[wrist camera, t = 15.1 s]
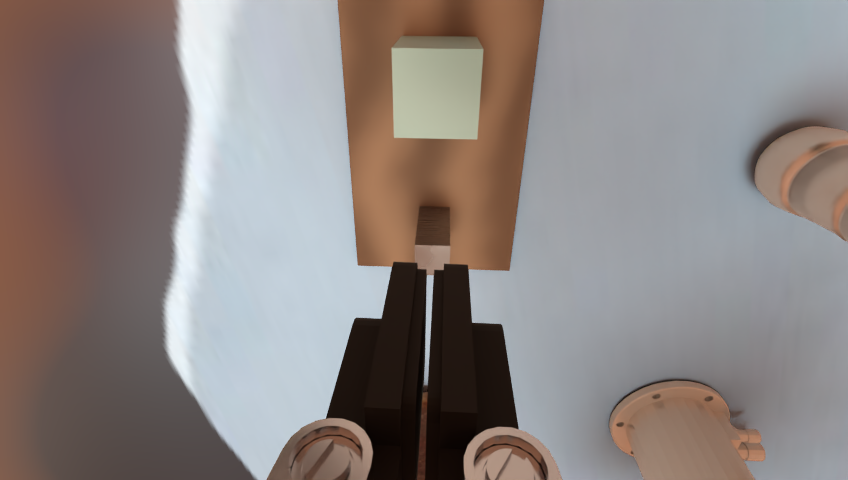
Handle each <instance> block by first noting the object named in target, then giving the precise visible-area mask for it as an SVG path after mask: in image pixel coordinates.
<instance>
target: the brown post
mask: <svg viewBox="0 0 848 480" xmlns="http://www.w3.org/2000/svg"><path fill="white" fill-rule="evenodd" d="M415 263H418V269H427V275H434V270H444V264H450V207H434V206H419V214H418V222H417V230H416V238H415Z"/></svg>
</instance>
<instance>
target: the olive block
mask: <svg viewBox="0 0 848 480" xmlns="http://www.w3.org/2000/svg"><path fill="white" fill-rule="evenodd" d="M482 64H483V47H482V46H481V44H480V42H479V40H478V38H477V37H463V36H401V37H400V38H399V40H398V41H397V42H396V43H395V44H394V46H393V47H392V83H393V121H394V138H430V139H477V136H478V121H479V107H480V92H481V78H482Z"/></svg>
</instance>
